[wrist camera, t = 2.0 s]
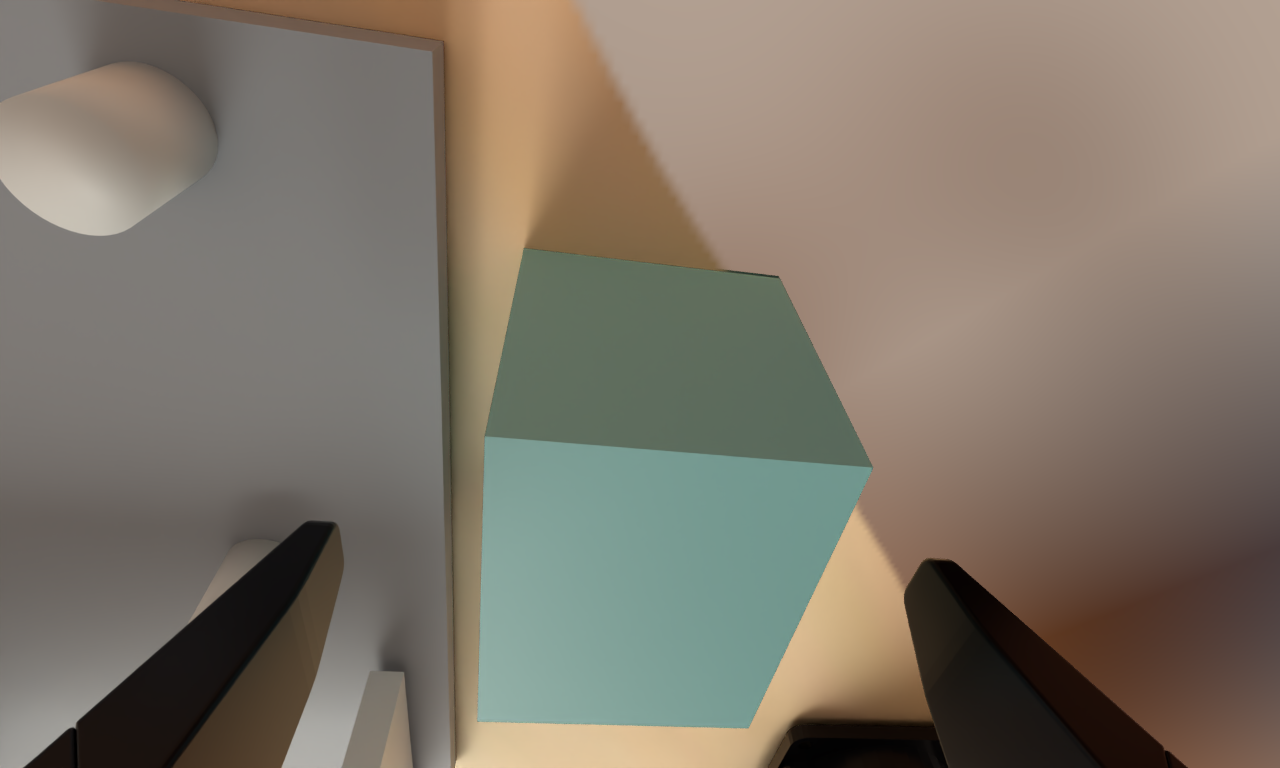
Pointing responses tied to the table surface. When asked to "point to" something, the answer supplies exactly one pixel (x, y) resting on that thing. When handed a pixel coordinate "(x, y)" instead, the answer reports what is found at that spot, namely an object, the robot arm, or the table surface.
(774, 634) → the block
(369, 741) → the cover
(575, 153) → the table surface
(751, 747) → the table surface
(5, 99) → the base plate
